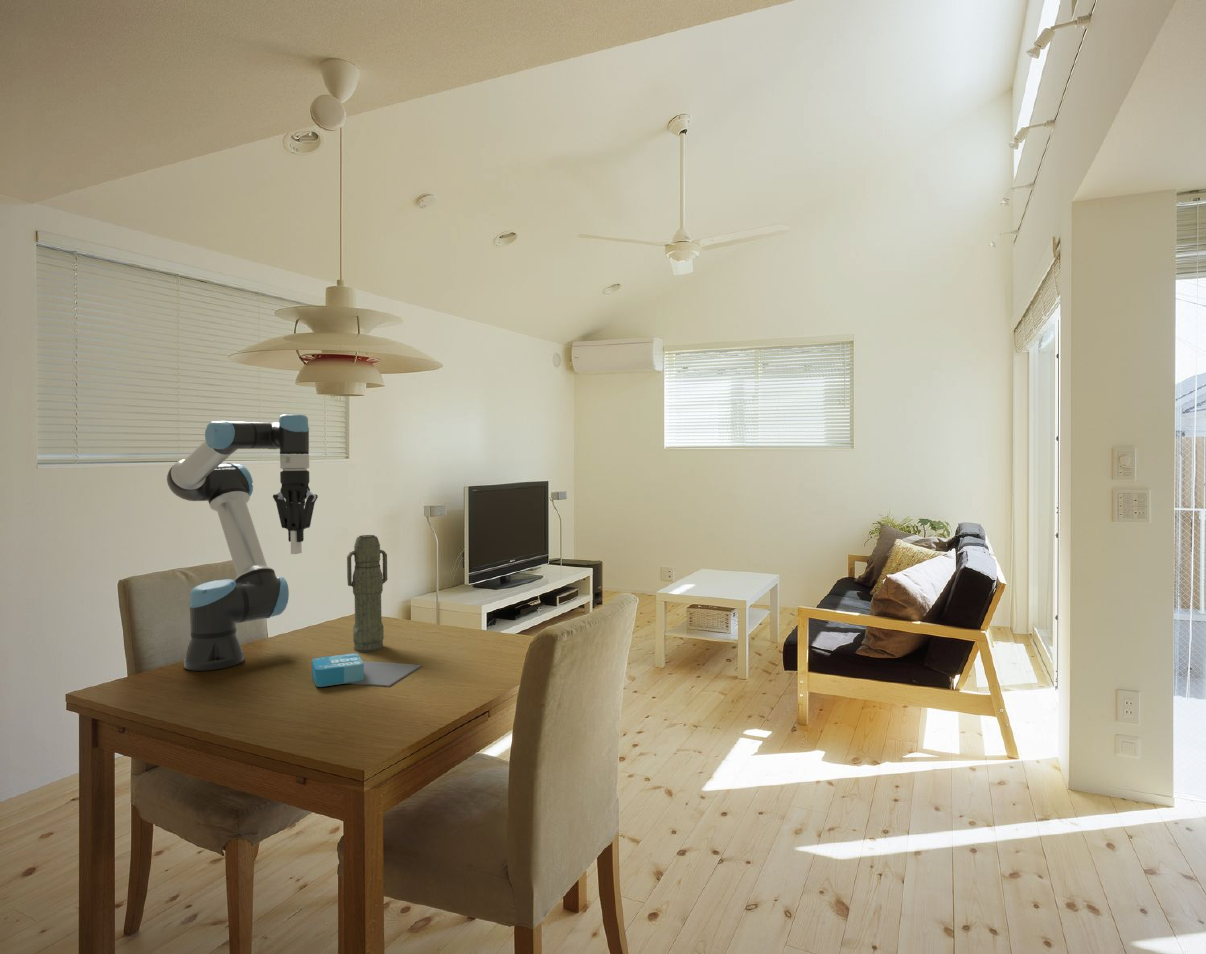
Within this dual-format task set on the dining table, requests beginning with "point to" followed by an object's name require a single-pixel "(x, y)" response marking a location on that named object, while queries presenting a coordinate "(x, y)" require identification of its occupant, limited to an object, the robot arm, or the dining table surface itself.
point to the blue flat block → (337, 669)
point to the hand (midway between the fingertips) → (296, 553)
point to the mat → (385, 673)
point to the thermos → (367, 592)
